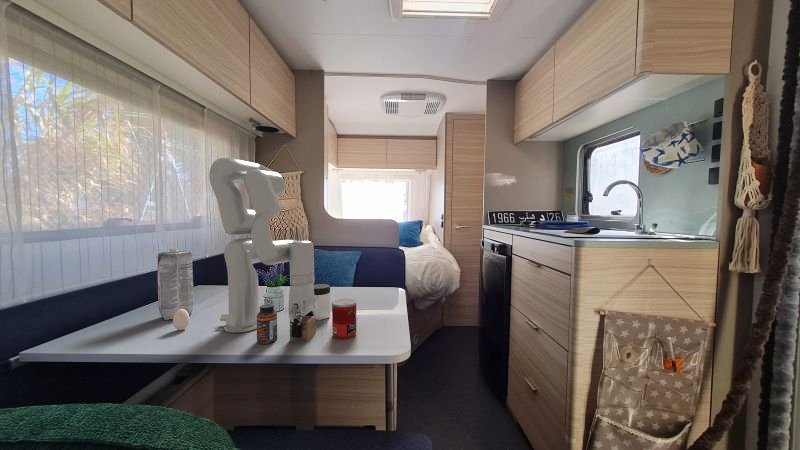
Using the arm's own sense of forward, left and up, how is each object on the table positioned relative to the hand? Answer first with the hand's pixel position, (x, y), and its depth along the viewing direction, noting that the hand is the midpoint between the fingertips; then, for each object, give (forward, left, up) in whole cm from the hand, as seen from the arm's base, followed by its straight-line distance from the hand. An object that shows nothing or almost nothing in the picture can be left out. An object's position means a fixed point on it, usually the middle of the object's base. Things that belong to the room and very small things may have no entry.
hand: (303, 331), depth 98 cm
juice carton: (-59, +15, -2) cm, 61 cm away
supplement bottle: (-10, -4, -2) cm, 11 cm away
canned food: (+13, +3, -2) cm, 13 cm away
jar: (-2, +20, -2) cm, 20 cm away
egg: (-45, +2, -2) cm, 45 cm away
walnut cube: (0, 0, -2) cm, 2 cm away
